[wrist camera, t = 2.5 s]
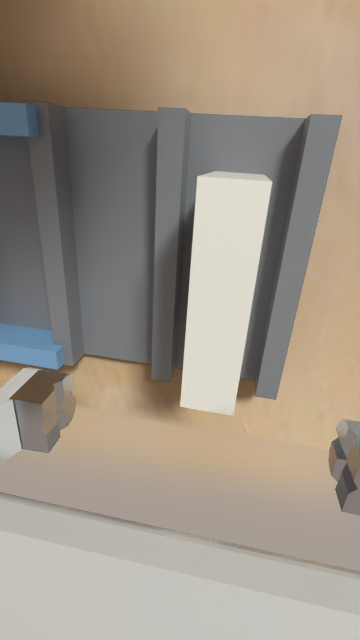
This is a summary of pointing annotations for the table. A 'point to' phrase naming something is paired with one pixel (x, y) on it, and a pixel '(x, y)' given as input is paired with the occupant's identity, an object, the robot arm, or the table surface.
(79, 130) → the board
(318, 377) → the table surface
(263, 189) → the plug block
